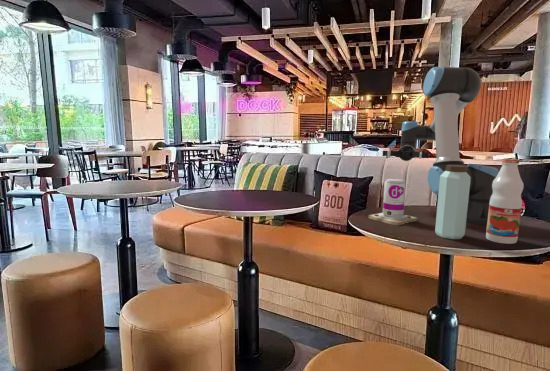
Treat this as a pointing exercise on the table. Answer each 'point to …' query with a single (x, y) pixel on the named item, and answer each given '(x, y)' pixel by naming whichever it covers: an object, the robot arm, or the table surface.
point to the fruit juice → (505, 204)
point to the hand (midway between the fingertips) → (404, 155)
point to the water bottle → (452, 202)
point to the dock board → (392, 219)
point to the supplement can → (394, 198)
